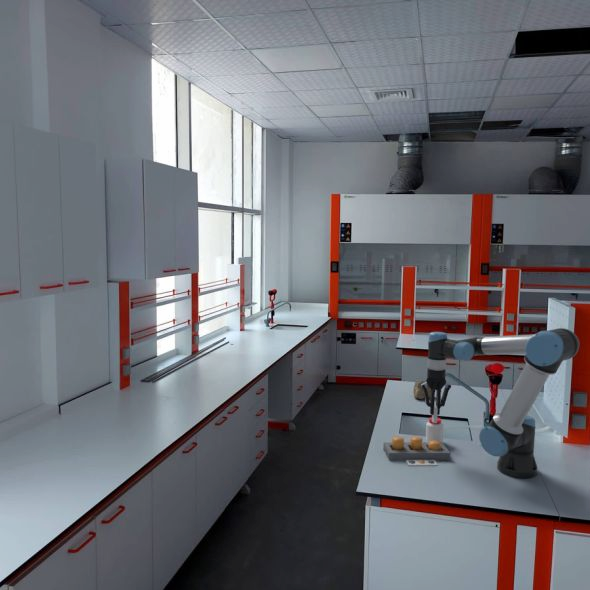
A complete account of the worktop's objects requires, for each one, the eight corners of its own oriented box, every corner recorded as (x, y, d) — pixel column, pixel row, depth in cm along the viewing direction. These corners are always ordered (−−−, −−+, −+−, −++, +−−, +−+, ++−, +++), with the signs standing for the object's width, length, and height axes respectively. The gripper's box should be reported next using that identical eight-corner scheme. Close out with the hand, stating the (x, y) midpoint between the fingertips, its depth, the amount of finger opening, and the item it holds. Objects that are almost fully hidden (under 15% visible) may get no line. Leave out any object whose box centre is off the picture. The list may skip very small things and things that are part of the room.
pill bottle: (430, 437, 260) (431, 415, 259) (445, 441, 255) (446, 418, 254) (422, 442, 254) (423, 419, 253) (438, 446, 249) (439, 423, 248)
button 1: (402, 446, 243) (402, 436, 242) (404, 450, 238) (405, 440, 237) (390, 446, 242) (391, 436, 242) (393, 451, 237) (393, 440, 237)
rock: (410, 384, 332) (415, 379, 323) (431, 385, 332) (436, 380, 323) (411, 402, 327) (416, 397, 318) (432, 403, 328) (437, 399, 319)
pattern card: (434, 460, 234) (434, 459, 234) (437, 465, 229) (437, 464, 229) (405, 460, 233) (405, 459, 233) (408, 465, 228) (408, 464, 228)
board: (441, 448, 247) (441, 442, 247) (449, 459, 235) (450, 452, 235) (383, 449, 246) (383, 442, 246) (388, 459, 234) (388, 453, 234)
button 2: (438, 450, 243) (438, 440, 243) (441, 454, 238) (442, 444, 238) (426, 450, 243) (427, 440, 243) (430, 455, 238) (430, 444, 238)
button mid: (420, 446, 243) (420, 436, 242) (423, 450, 238) (423, 440, 237) (408, 446, 243) (409, 436, 242) (411, 450, 238) (412, 440, 237)
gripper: (449, 366, 241) (446, 419, 243) (419, 366, 240) (417, 419, 243) (454, 370, 233) (452, 425, 236) (423, 370, 233) (421, 424, 235)
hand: (434, 421), depth 239 cm, fingers closed
